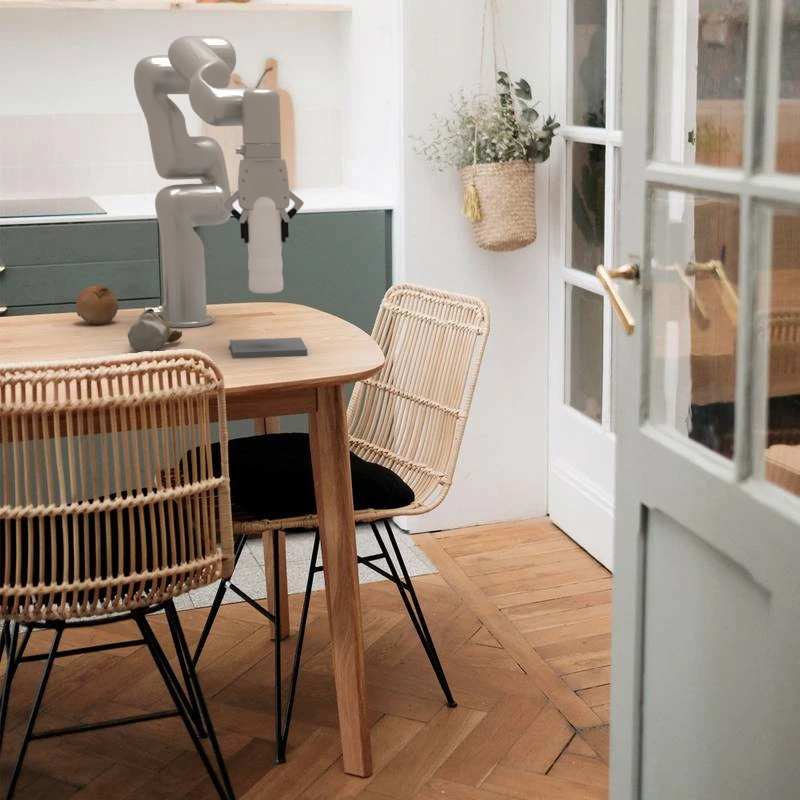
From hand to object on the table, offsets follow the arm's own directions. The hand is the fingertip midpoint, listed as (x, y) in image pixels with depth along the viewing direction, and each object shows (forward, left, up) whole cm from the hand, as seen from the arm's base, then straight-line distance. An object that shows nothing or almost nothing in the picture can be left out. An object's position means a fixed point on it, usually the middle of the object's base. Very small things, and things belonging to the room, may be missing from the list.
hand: (264, 241), depth 260 cm
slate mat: (0, 0, -23) cm, 23 cm away
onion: (-36, +39, -23) cm, 58 cm away
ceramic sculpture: (-24, +8, -23) cm, 34 cm away
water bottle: (0, 0, -10) cm, 10 cm away
